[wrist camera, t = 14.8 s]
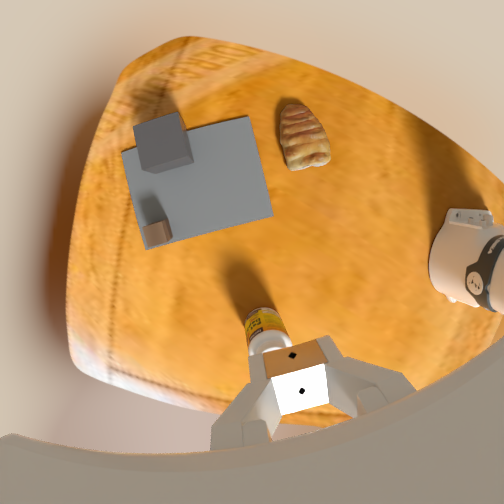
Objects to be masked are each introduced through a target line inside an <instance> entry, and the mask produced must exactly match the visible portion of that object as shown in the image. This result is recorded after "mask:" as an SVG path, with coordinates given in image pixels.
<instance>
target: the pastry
mask: <svg viewBox="0 0 504 504" xmlns="http://www.w3.org/2000/svg"><path fill="white" fill-rule="evenodd" d="M280 115H281V119H280V121H281V122H280V126H279V127H280V144H281V145H282V147H283V150H284V156H285V159H286V162H287V168H288V169H289V170H291V171H295V170H301V169H304V168H308V167H310V166H316V167H319V166H323V165H325V164H327V163H328V162H329V161H330V160H331V156H330V143H329V140H328V138H327V136H326V132H325V130H324V129H323V127H322V124H321V123H320V122H319V121H318V119H317V118H316V117H315V116H314V115H313V113H312V112H311V111H310V109H309V108H307V107H306V106H304V105H301V104H288V105H286V106H285V108H284V109H283V111H282V112H281V114H280Z"/></svg>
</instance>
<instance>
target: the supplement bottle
mask: <svg viewBox="0 0 504 504" xmlns="http://www.w3.org/2000/svg"><path fill="white" fill-rule="evenodd" d="M245 333H246V340H247V346H248V352H249V356H251V355H255V354H259V353H262V354H263V353H264V352H268V351H273V350H277V349H282V348H286V347H291V346H292V342H291V340H290V338H289V335H288V333H287V331H286V329H285V326H284V324H283V322H282V320H281V318H280V316H279V314H278V313H277V312H276V311H275V310H273V309H270V308H265V307H263V308H258V309H255V310H253V311H252V312H251V313H250V314H249V315H248V316H247V318H246V320H245Z"/></svg>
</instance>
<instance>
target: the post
mask: <svg viewBox="0 0 504 504" xmlns="http://www.w3.org/2000/svg"><path fill="white" fill-rule="evenodd" d="M142 229H143V232H144V236H145V239H146V242H147V246H148V248H149V247H152V246H156V245H159V244H163V243H166V242H168V241H169V240H171V239H172V238H173V234H172V231H171V227H170V224H169V220H168V219H164V220H161V221H157V222H154V223H151V224H148V225H146V226H144V227H142Z"/></svg>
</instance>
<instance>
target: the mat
mask: <svg viewBox="0 0 504 504" xmlns="http://www.w3.org/2000/svg"><path fill="white" fill-rule="evenodd" d="M187 134H188V138H189V142H190V146H191V151H192V155H193V159H194V163H192V164H188V165H185V166H181V167H178V168H174V169H171V170H168V171H164V172H161V173H158V174H154V173H150V172H146V171H143V170H142V169H141V164H140V160H139V155H138V150H137V147H136V148H133V149H130V150H128V151H125V152H122V153H121V154H122V159H123V164H124V168H125V173H126V177H127V182H128V186H129V190H130V194H131V198H132V202H133V206H134V210H135V214H136V218H137V221H138V225H139V228H140V232H141V235H142V239H143V242H144V245H145V249H146V250H148V249H152V248H155V247H159V246H162V245H166V244H169V243H173V242H176V241H180V240H184V239H187V238H191V237H195V236H198V235H202V234H206V233H210V232H213V231H217V230H221V229H225V228H229V227H232V226H236V225H240V224H244V223H248V222H252V221H256V220H260V219H264V218H268V217H272V216H274V215H273V211H272V207H271V203H270V198H269V194H268V190H267V186H266V182H265V178H264V173H263V169H262V165H261V161H260V157H259V153H258V149H257V145H256V141H255V138H254V134H253V130H252V126H251V122H250V118H249V117H244V118H239V119H234V120H230V121H225V122H221V123H217V124H213V125H209V126H205V127H201V128H197V129H193V130H190V131H187ZM164 219H168V220H169V224H170V227H171V231H172V234H173V238H172V239H171V240H169V241H168V242H166V243H163V244H159V245H156V246H152V247H149V248H148V246H147V242H146V239H145V236H144V232H143V229H142V227H144V226H146V225H148V224H151V223H154V222H157V221H161V220H164Z"/></svg>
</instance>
